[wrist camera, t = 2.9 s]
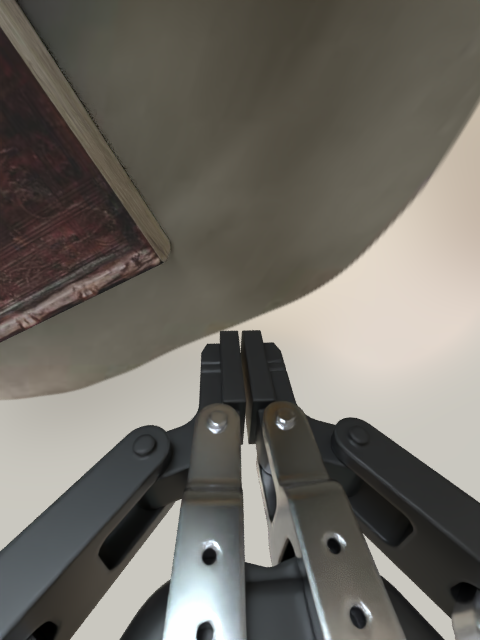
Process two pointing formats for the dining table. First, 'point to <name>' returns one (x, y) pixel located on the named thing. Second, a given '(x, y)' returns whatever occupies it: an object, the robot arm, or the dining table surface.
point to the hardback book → (59, 192)
